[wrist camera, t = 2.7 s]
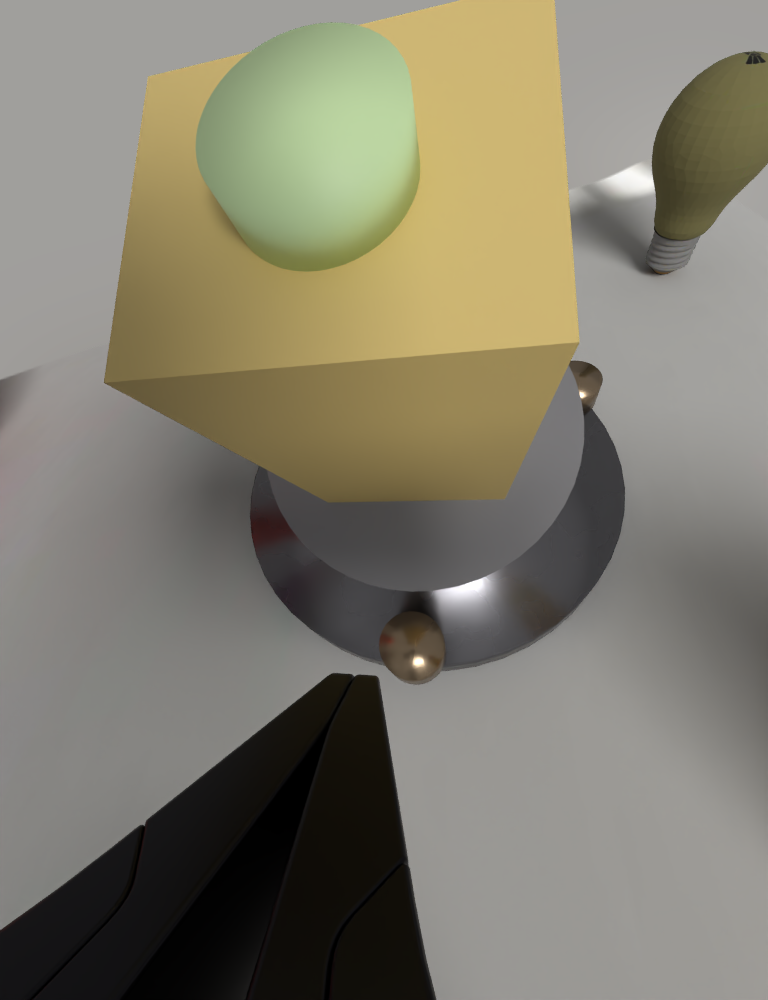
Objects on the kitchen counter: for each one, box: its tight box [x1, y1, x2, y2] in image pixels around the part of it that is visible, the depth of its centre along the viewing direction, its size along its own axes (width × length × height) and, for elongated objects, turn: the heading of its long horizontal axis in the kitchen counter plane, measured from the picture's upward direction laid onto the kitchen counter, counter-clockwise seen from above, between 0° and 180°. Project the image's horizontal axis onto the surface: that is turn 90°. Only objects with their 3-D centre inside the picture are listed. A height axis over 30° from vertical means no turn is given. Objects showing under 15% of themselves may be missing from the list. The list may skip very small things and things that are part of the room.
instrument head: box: [104, 0, 584, 592], centre depth 12 cm, size 13×13×13 cm
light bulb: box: [646, 51, 768, 274], centre depth 23 cm, size 6×6×10 cm
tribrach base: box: [250, 361, 625, 684], centre depth 20 cm, size 19×18×4 cm
